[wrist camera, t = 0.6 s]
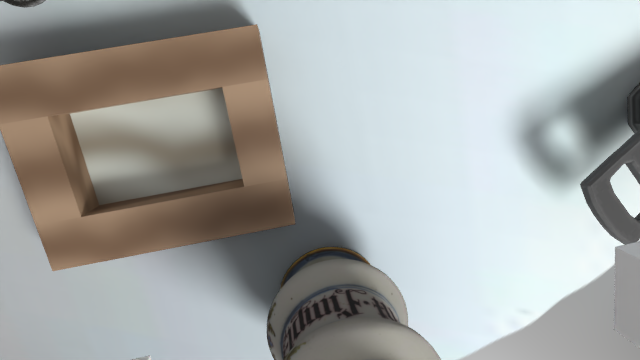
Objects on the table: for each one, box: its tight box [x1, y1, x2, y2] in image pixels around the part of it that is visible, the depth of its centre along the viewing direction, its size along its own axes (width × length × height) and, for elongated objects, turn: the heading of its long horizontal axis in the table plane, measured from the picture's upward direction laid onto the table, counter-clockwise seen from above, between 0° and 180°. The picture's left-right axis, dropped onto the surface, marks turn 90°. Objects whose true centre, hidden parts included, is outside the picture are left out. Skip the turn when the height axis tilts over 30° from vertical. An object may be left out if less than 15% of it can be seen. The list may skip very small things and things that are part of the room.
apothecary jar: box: [267, 247, 441, 360], centre depth 30 cm, size 12×12×18 cm
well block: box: [0, 25, 295, 271], centre depth 32 cm, size 16×20×4 cm
